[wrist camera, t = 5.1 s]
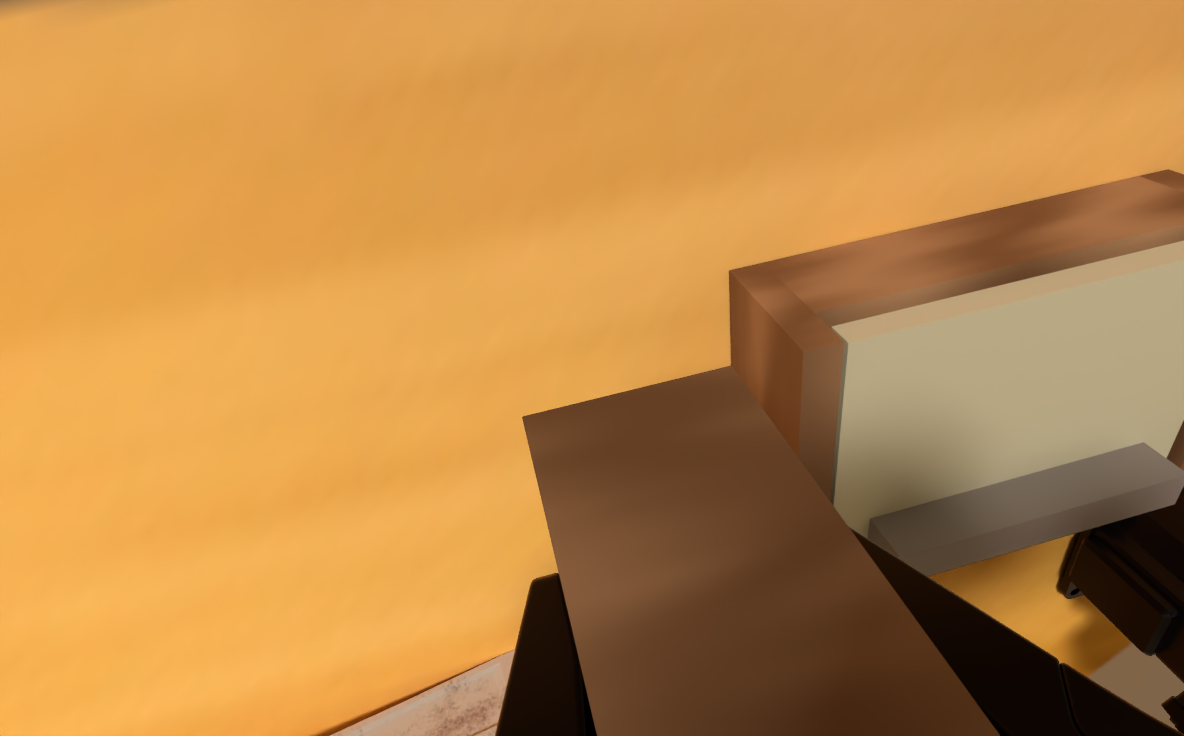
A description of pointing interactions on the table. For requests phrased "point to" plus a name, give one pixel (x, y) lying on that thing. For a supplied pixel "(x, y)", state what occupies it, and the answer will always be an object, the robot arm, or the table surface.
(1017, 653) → the robot arm
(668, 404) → the brown rectangular block
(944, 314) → the cream cabinet door
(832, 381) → the wooden tray
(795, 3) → the table surface
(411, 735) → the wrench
